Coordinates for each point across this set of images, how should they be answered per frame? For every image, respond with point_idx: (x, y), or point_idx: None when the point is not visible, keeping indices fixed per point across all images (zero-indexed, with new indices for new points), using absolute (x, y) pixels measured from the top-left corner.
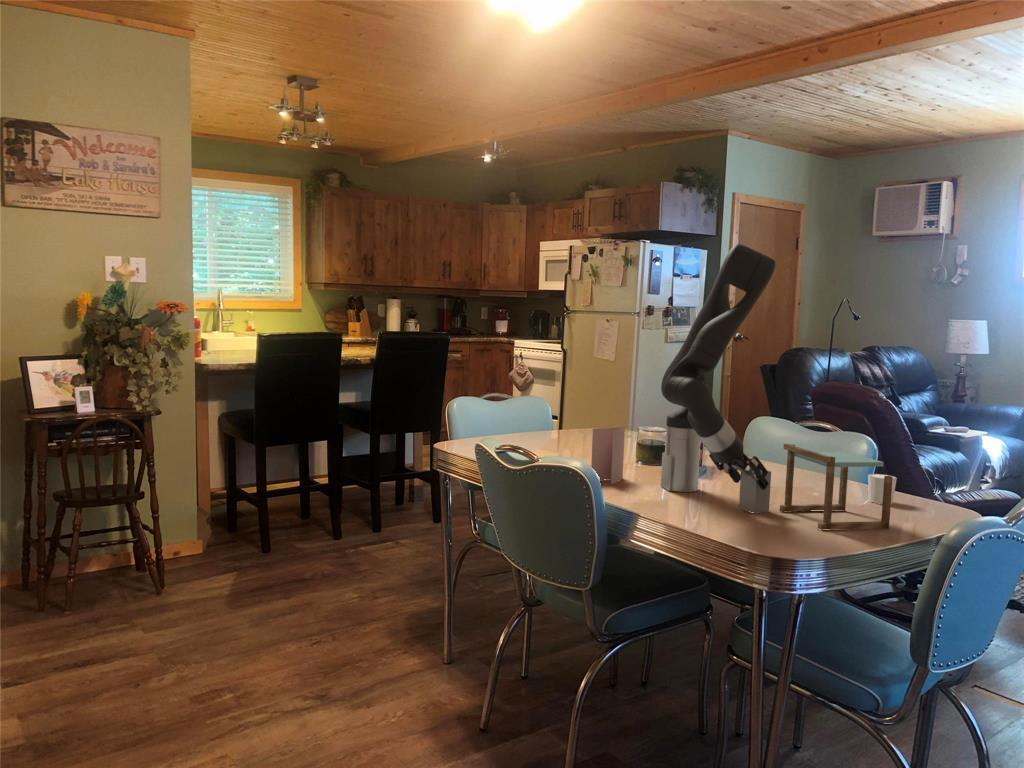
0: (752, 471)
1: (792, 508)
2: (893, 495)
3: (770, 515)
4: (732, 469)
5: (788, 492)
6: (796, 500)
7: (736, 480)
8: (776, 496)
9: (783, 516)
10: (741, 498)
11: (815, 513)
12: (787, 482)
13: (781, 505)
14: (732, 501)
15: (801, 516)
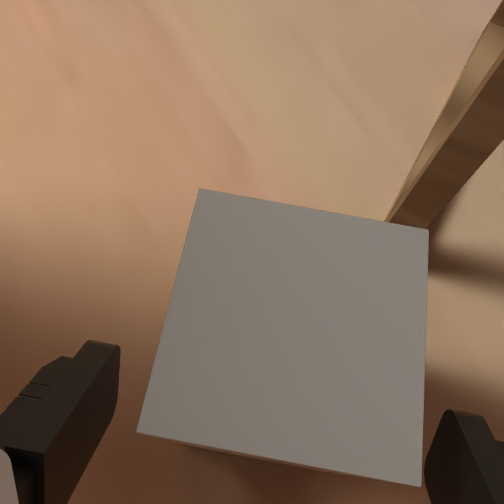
0: (333, 457)
1: None
2: None
3: None
4: (29, 493)
5: (439, 208)
6: (265, 23)
7: (105, 424)
8: (162, 23)
9: (449, 371)
10: (196, 446)
11: (476, 170)
12: (457, 167)
13: None
14: (52, 292)
15: (491, 283)
